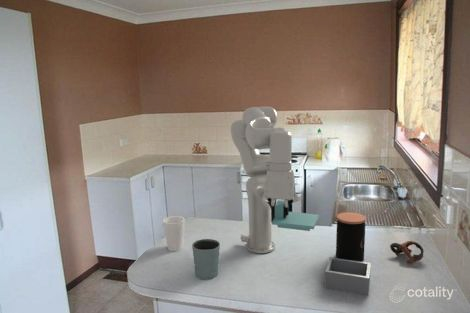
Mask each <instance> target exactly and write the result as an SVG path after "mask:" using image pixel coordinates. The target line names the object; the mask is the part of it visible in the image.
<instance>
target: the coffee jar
mask: <svg viewBox="0 0 470 313" xmlns="http://www.w3.org/2000/svg"><path fill="white" fill-rule="evenodd" d="M336 219H337V221H336V235H335V236H336V237H335V238H336V244H335V258H338V259H345V260H352V261H360V262H364V260H365V246H366V244H365V243H366V241H365V240H366V219H367V218H366V216H365V215H363V214H361V213H357V212H351V211H350V212H349V211H348V212H345V211H344V212H341V213H338V214H337V216H336Z"/></svg>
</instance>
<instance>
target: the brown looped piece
mask: <svg viewBox="0 0 470 313" xmlns="http://www.w3.org/2000/svg"><path fill="white" fill-rule="evenodd" d="M410 246H415V247H416V248H417V249H419V250H420V253H419V254H413V255H411V254H412V252H413V250H412V249H410V248H409V247H410ZM389 247H390V250H391V252H393V253H394V254H395V255H396V256H397V257H398V256H399V255H400V254H404V255H405V256H406V257H407V260H406V263H407V264H409V265H412V264H413V263H417V262H420V261H421V260H422V259H423V257H424V252H425V251H424V248H423V247H422V245H421V244H420V243H418V242H416V241H413V240H408V241H405V242H403V243H398V242H392V243H391V244H390V245H389Z"/></svg>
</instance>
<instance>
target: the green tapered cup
mask: <svg viewBox="0 0 470 313" xmlns="http://www.w3.org/2000/svg"><path fill="white" fill-rule="evenodd" d="M220 246H221V244H220V242H219V241H218V240H216V239H212V238H203V239H198V240H196V241H194V242H192V246H191V247H192V256H193V263H194V274H195V277H196V278H197V279H199V280H203V281H208V280H213V279H215V278H216V277H217V276H218V275H219V262H220V258H219V257H220V248H221V247H220Z"/></svg>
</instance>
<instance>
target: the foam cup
mask: <svg viewBox="0 0 470 313" xmlns="http://www.w3.org/2000/svg"><path fill="white" fill-rule="evenodd" d="M162 226H163V229H164V235H165V240H166V245H167V249H168V251H170V252H178V251H179V252H180V251H181V250H182V249H183V248H184V239H185V238H184V237H185V226H186V219H185V217H184V216H182V215H174V216H173V215H172V216H167V217H165V218H163V219H162Z"/></svg>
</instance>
